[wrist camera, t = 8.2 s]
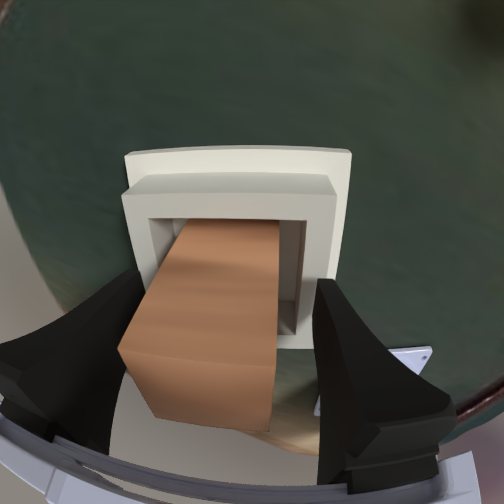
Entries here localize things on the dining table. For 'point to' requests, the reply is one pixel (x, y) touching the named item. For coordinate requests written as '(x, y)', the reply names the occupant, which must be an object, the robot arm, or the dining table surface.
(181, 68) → the dining table surface
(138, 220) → the socket
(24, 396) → the robot arm
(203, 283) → the peg
